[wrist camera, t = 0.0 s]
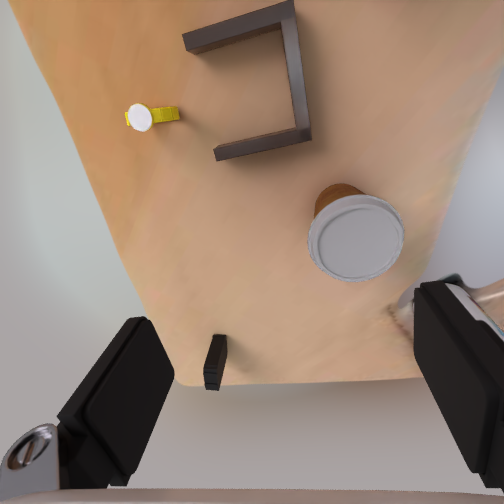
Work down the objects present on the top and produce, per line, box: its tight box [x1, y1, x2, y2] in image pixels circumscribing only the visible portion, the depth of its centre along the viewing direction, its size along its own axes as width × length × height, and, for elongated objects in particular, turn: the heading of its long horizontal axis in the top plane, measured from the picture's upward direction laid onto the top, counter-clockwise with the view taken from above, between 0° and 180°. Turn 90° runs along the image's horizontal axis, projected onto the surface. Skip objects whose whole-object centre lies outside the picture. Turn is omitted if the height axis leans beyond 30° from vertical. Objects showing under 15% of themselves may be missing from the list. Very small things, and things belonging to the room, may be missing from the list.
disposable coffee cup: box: [308, 184, 404, 282], centre depth 35 cm, size 10×10×12 cm
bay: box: [182, 0, 312, 161], centre depth 33 cm, size 13×12×3 cm
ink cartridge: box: [203, 335, 227, 391], centre depth 50 cm, size 5×2×8 cm, turn 1°
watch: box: [125, 103, 179, 131], centre depth 34 cm, size 6×3×6 cm, turn 97°
